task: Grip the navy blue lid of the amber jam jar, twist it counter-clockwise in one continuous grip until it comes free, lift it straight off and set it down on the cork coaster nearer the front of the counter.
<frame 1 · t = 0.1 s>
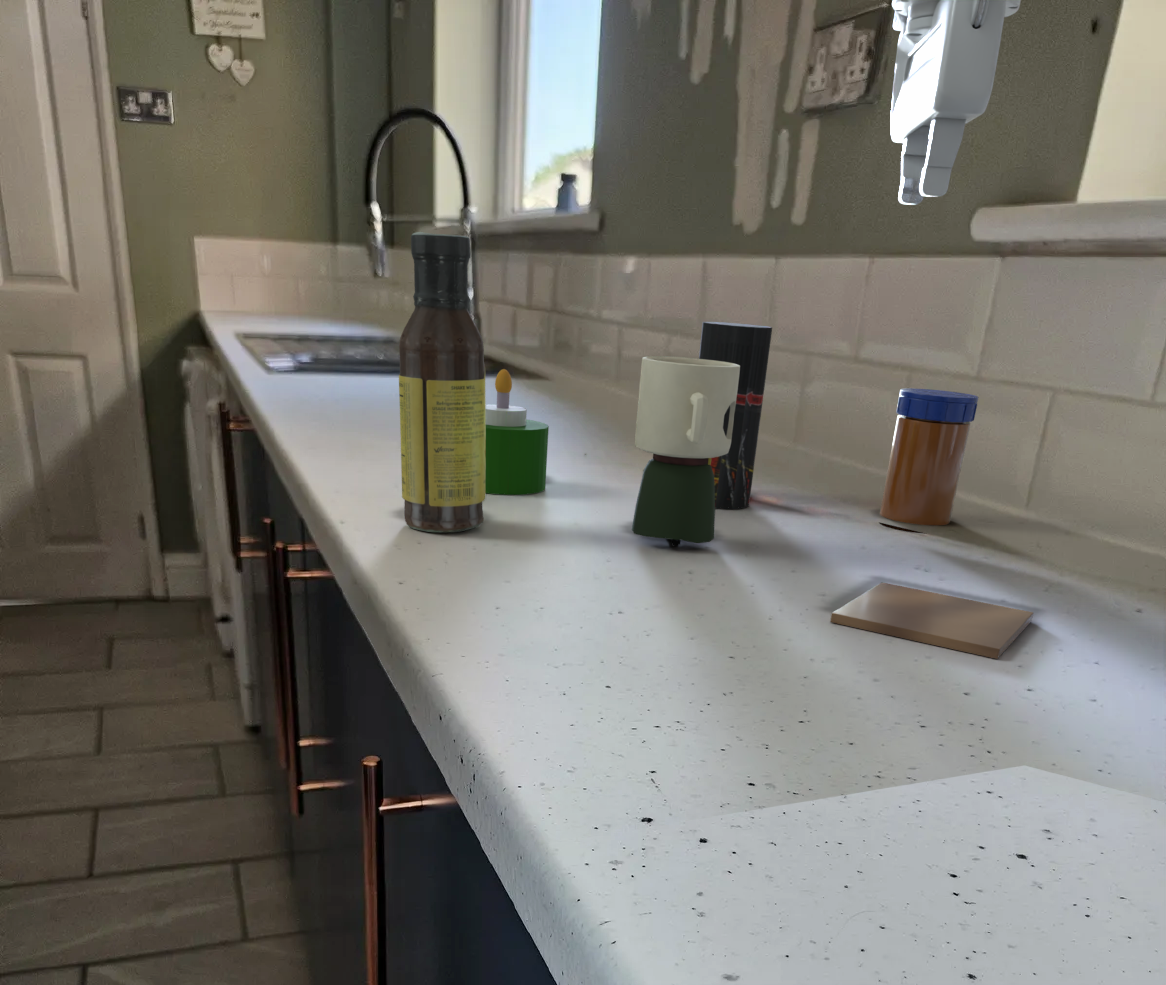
hand: (920, 200, 83), 25 cm above the counter, tool pointing down, fingers open, 8 cm apart
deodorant: (716, 504, 100), on the counter
character mug: (671, 544, 84), on the counter
coaster: (933, 621, 68), on the counter
jar lid: (938, 398, 91), point 11 cm above the counter, screwed on, not yet turned
jar: (913, 525, 96), on the counter
sauce bottle: (442, 528, 83), on the counter
candle: (499, 487, 99), on the counter
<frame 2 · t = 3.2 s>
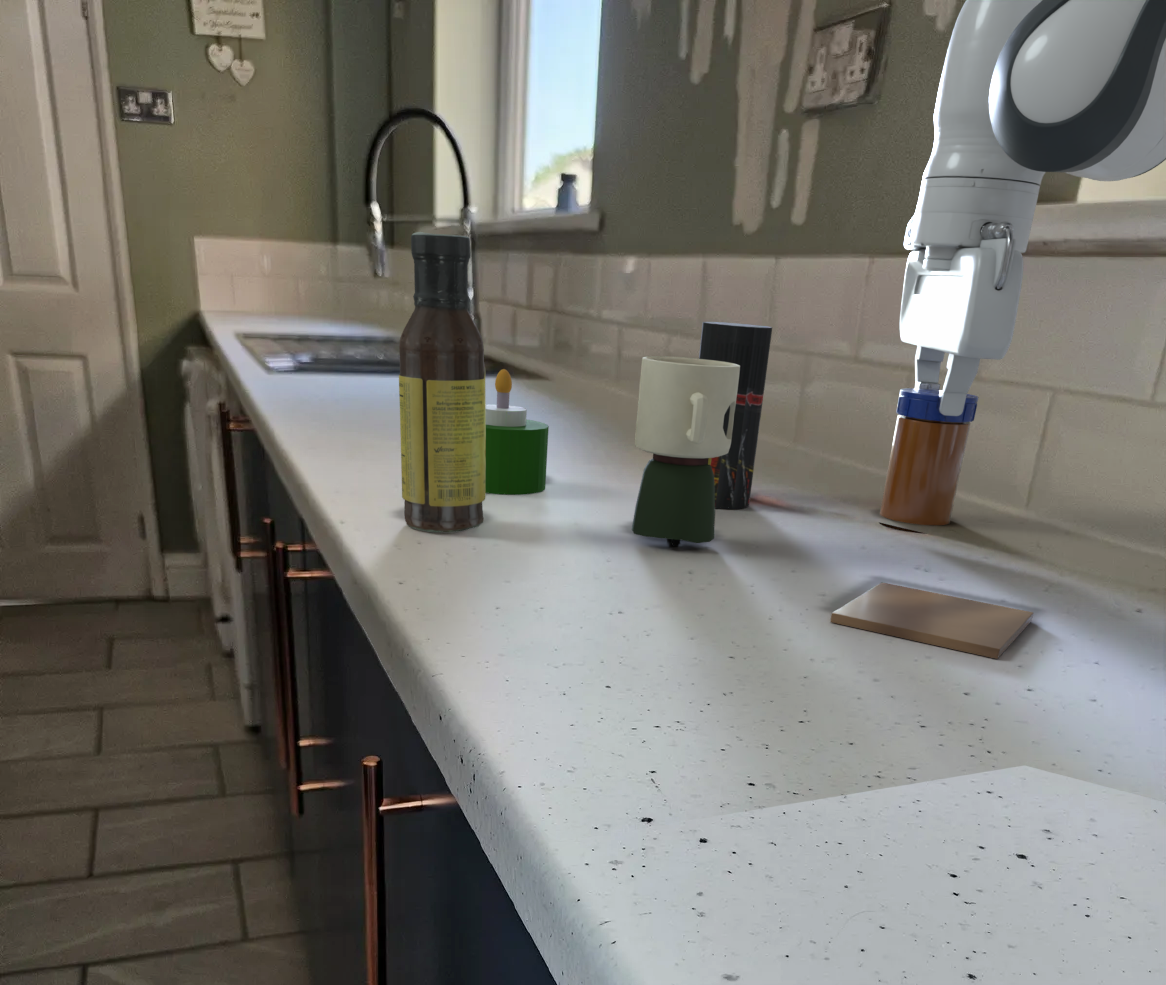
hand: (935, 409, 92), 10 cm above the counter, tool pointing down, fingers closed on jar lid, 6 cm apart
jar lid: (938, 398, 91), point 11 cm above the counter, screwed on, not yet turned, touching gripper
everything else where it was.
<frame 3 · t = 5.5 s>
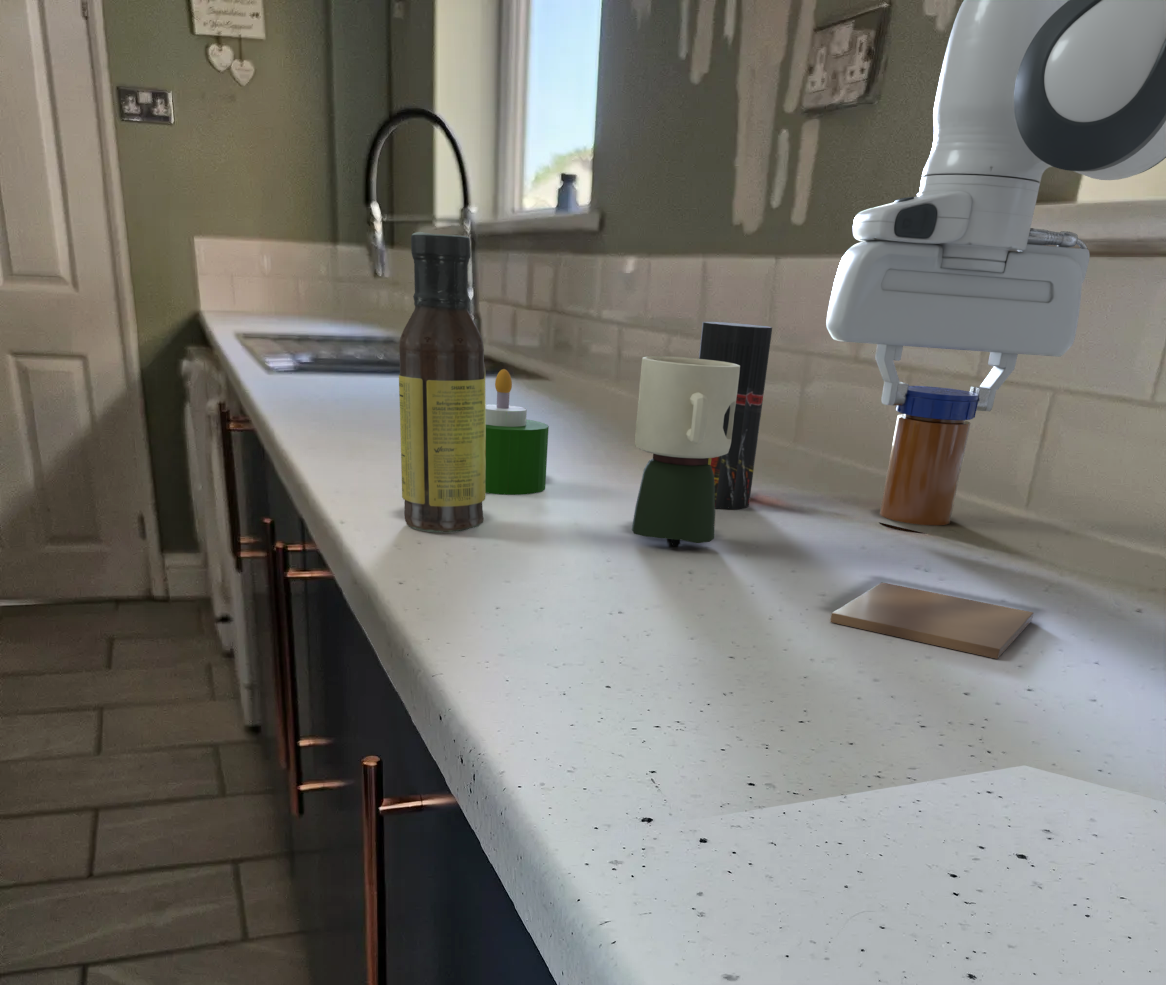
hand: (935, 407, 91), 10 cm above the counter, tool pointing down, fingers closed on jar lid, 6 cm apart
jar lid: (938, 395, 91), point 11 cm above the counter, off its thread, touching gripper
everything else where it was.
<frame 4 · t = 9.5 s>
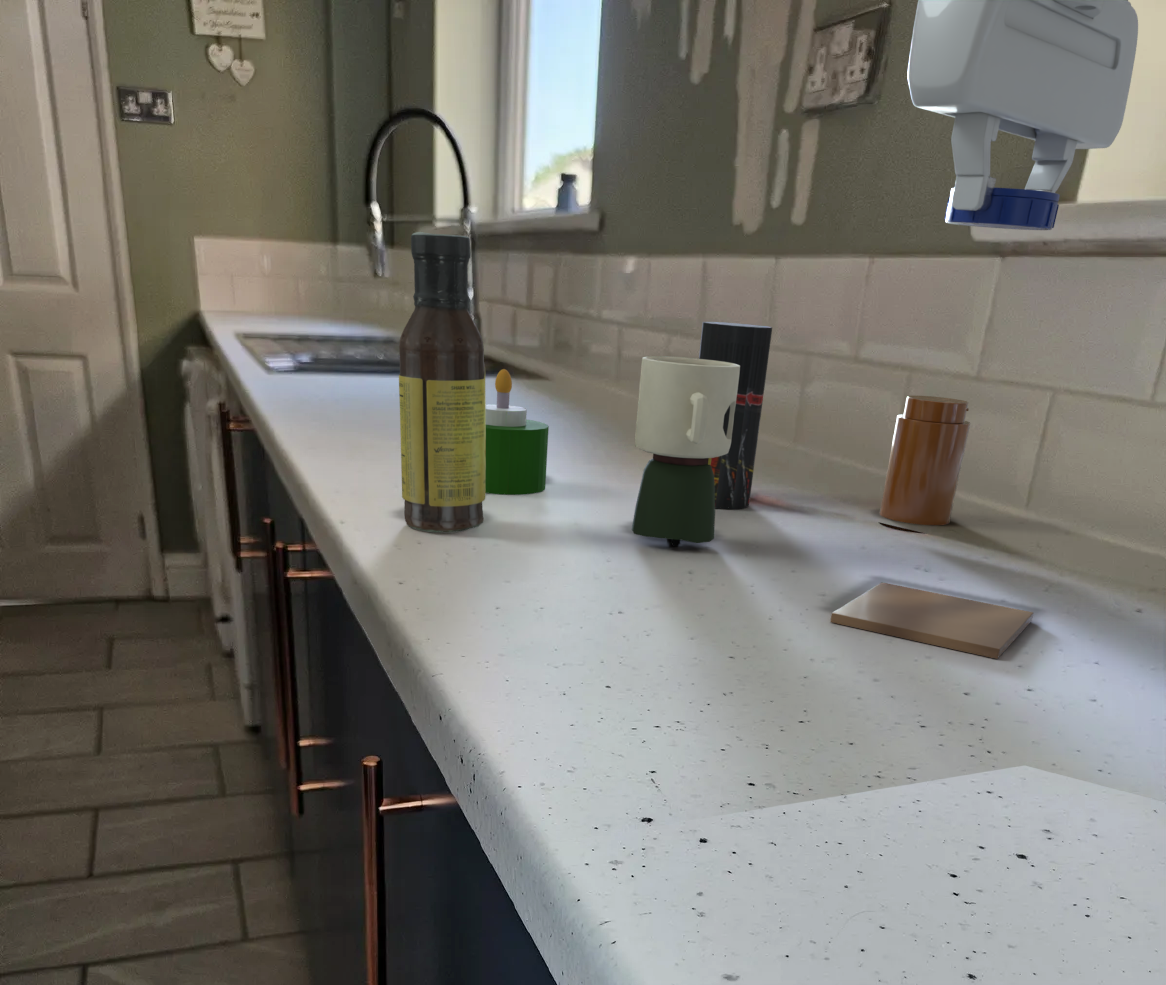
hand: (1000, 216, 67), 23 cm above the counter, tool pointing down, fingers closed on jar lid, 6 cm apart
jar lid: (1003, 198, 67), point 24 cm above the counter, off its thread, touching gripper
everything else where it was.
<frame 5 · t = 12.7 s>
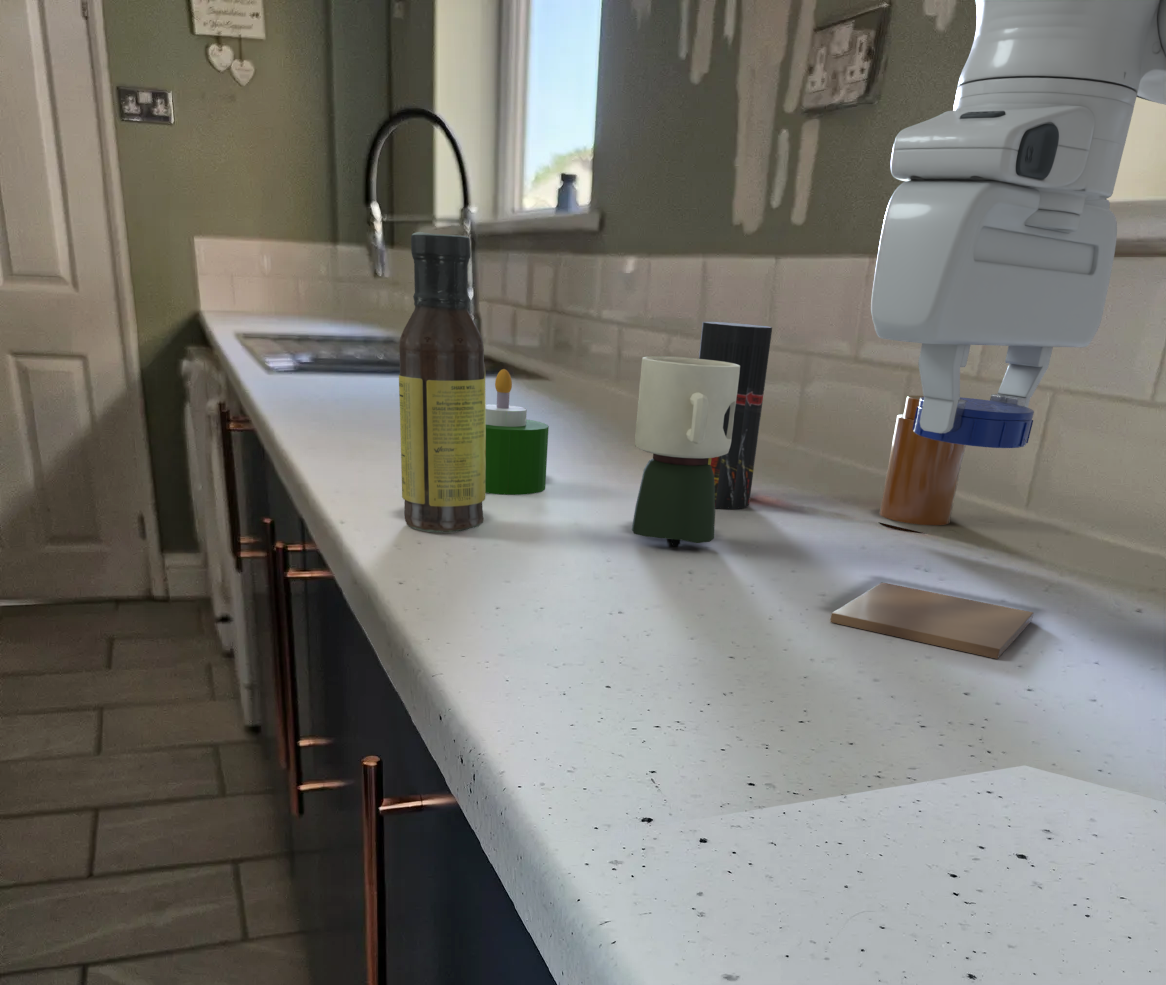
hand: (972, 429, 63), 12 cm above the counter, tool pointing down, fingers closed on jar lid, 6 cm apart
jar lid: (974, 411, 63), point 13 cm above the counter, off its thread, touching gripper
everything else where it was.
when the fingers open (1 cm above the counter, at t = 15.6 s): jar lid stays where it is, resting on coaster.
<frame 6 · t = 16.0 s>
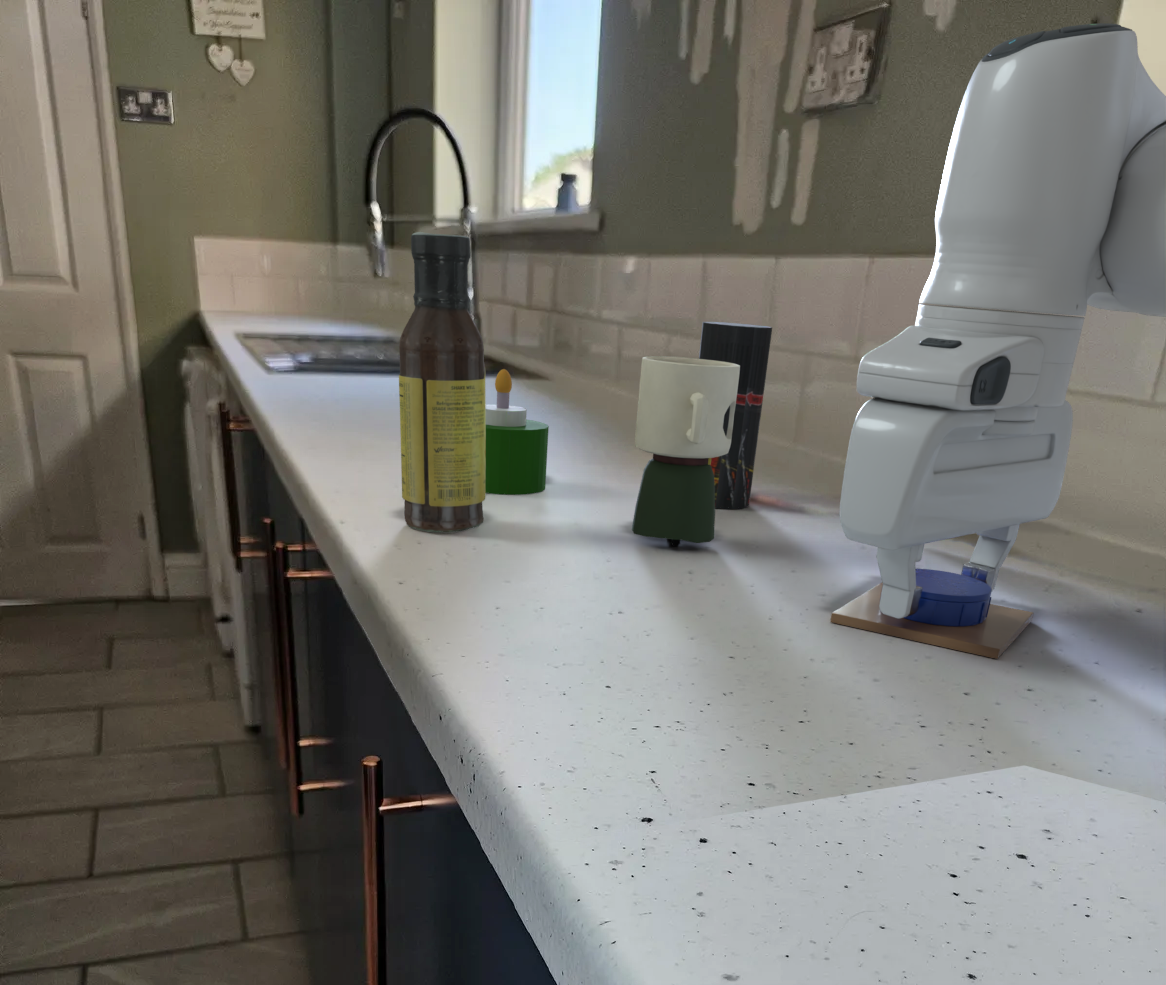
hand: (938, 603, 68), 1 cm above the counter, tool pointing down, fingers open, 8 cm apart
jar lid: (937, 587, 68), point 2 cm above the counter, off its thread, touching coaster
everything else where it was.
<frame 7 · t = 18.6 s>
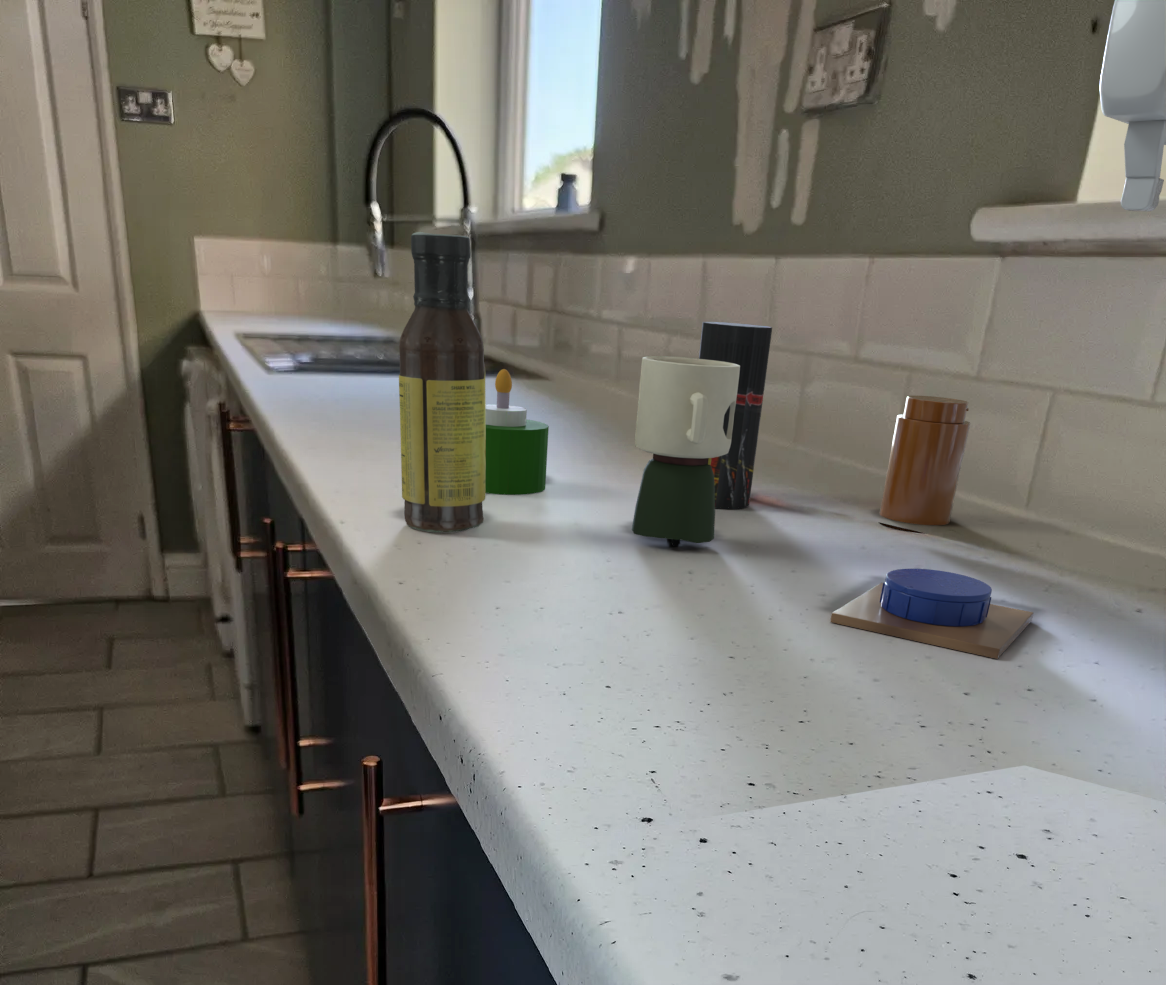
hand: (1165, 216, 72), 24 cm above the counter, tool pointing down, fingers open, 8 cm apart
nothing on the counter moved.
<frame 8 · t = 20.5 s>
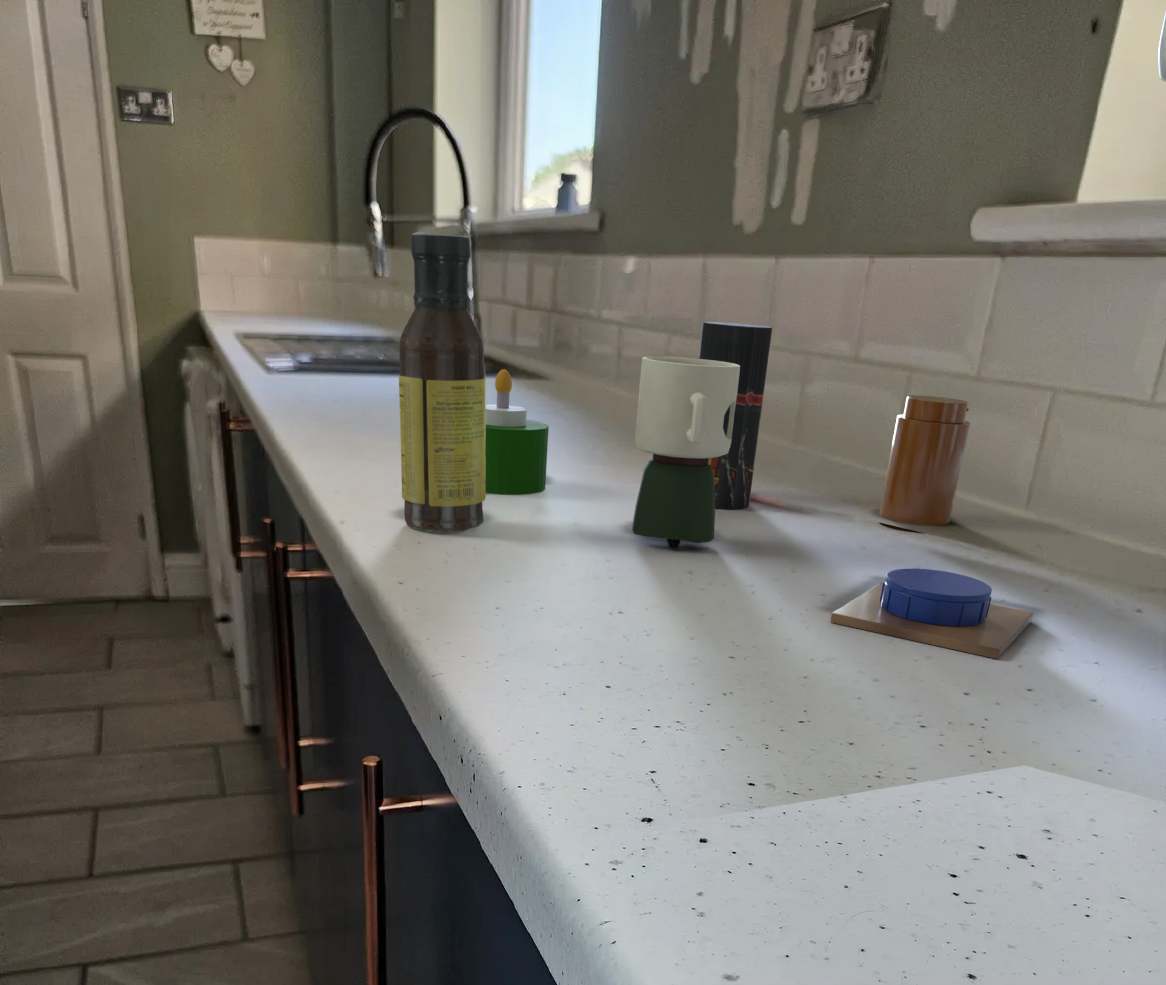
nothing on the counter moved.
at the end: jar lid came off its thread; jar lid inside the target area on the coaster (0.2 cm from its centre), point 2.1 cm above the coaster's base; the gripper is holding nothing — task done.
